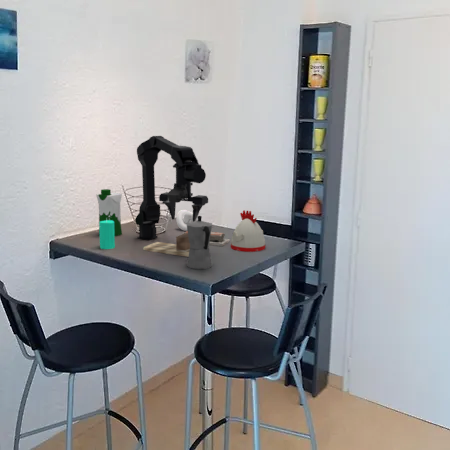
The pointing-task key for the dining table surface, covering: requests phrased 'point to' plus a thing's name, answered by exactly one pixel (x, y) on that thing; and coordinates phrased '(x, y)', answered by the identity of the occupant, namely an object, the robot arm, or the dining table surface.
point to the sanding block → (182, 243)
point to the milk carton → (110, 208)
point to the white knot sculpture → (184, 219)
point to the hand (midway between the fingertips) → (183, 220)
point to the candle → (107, 234)
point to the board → (165, 249)
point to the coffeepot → (199, 244)
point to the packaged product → (217, 239)
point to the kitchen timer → (248, 235)
